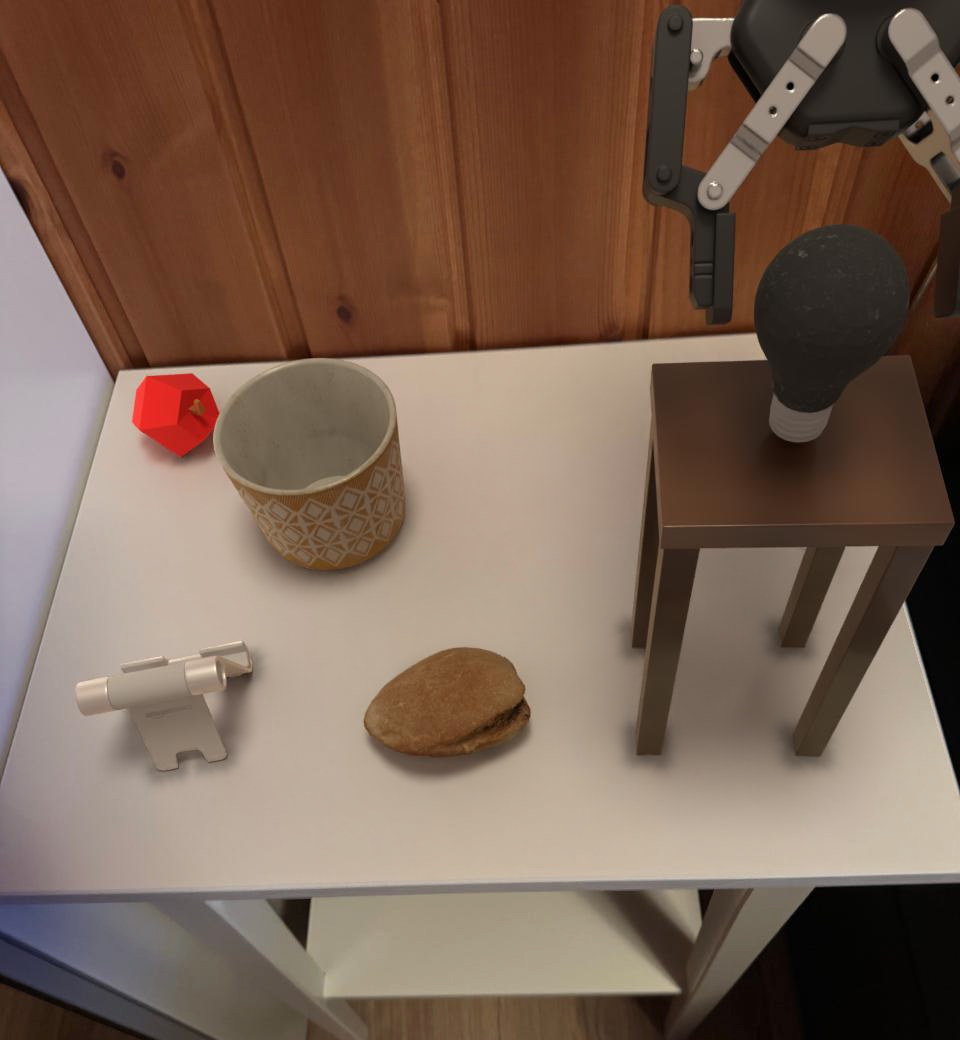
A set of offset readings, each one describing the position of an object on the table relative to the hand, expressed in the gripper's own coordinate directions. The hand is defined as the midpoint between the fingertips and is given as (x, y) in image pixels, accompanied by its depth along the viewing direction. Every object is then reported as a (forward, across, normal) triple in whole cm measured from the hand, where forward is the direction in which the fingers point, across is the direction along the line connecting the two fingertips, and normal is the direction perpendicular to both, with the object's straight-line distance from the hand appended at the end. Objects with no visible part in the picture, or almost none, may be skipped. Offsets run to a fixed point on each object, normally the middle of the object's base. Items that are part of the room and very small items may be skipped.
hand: (834, 320), depth 35 cm
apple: (+5, -42, +40) cm, 58 cm away
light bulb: (+4, 0, +6) cm, 8 cm away
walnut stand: (+21, 0, +23) cm, 32 cm away
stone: (+23, -18, +22) cm, 36 cm away
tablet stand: (+23, -36, +22) cm, 48 cm away
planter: (+11, -28, +34) cm, 45 cm away
